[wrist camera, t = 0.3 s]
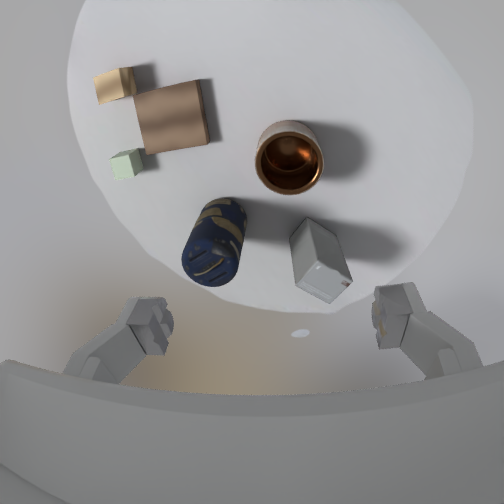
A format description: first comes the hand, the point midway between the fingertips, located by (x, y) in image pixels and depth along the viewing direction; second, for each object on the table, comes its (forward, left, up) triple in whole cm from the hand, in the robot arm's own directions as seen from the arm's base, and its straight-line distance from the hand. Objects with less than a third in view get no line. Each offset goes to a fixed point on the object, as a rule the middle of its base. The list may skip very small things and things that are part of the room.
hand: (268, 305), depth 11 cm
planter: (+7, +1, -47) cm, 48 cm away
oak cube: (-11, -28, -47) cm, 56 cm away
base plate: (-2, -19, -47) cm, 50 cm away
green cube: (+5, -30, -47) cm, 56 cm away
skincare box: (+26, +5, -47) cm, 54 cm away
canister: (+20, -13, -47) cm, 53 cm away
